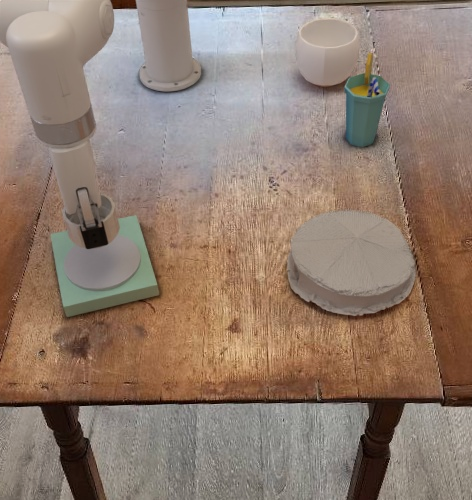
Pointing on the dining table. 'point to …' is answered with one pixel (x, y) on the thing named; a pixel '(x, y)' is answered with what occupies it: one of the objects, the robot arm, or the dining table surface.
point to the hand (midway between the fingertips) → (92, 226)
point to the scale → (104, 270)
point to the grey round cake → (350, 262)
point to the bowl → (105, 213)
